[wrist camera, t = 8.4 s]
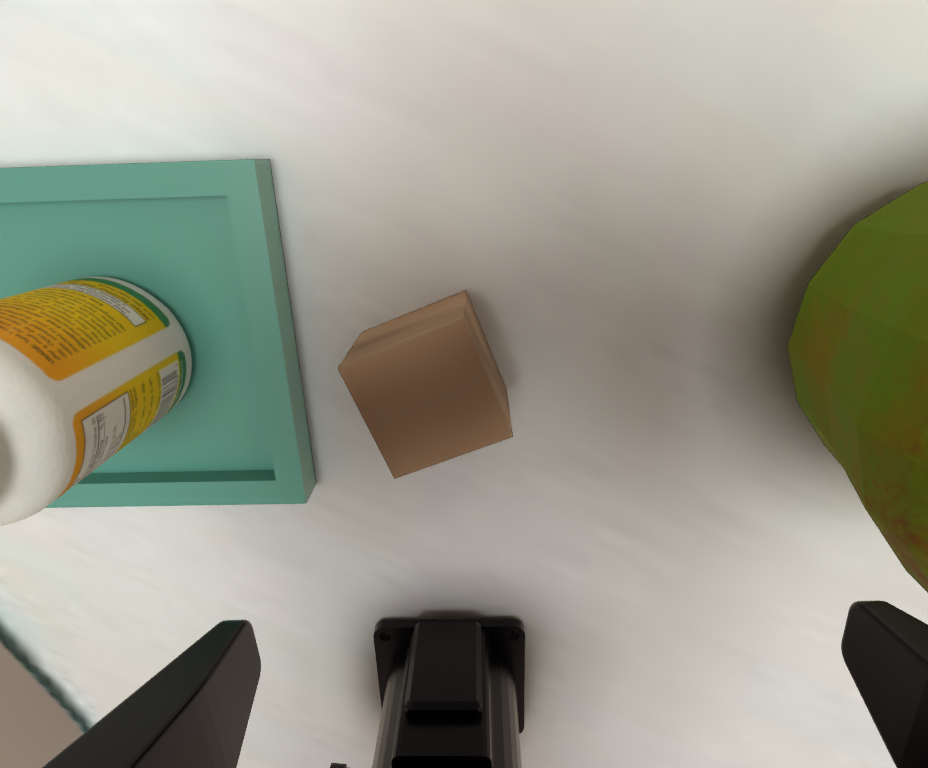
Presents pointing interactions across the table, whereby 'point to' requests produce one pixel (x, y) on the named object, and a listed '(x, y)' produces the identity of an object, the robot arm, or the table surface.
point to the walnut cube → (428, 386)
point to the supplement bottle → (80, 383)
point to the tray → (179, 318)
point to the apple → (874, 368)
